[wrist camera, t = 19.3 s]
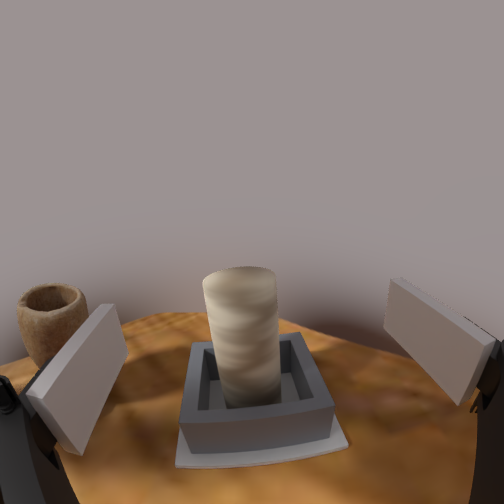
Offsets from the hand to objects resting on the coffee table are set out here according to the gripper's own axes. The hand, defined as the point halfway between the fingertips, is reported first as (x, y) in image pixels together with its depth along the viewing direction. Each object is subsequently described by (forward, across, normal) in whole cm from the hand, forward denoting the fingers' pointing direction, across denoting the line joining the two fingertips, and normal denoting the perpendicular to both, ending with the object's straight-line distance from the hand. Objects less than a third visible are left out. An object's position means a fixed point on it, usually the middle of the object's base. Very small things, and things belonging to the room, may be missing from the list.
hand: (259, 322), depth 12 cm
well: (+11, 0, -17) cm, 20 cm away
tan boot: (+14, -24, -18) cm, 33 cm away
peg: (+11, 0, -17) cm, 20 cm away
